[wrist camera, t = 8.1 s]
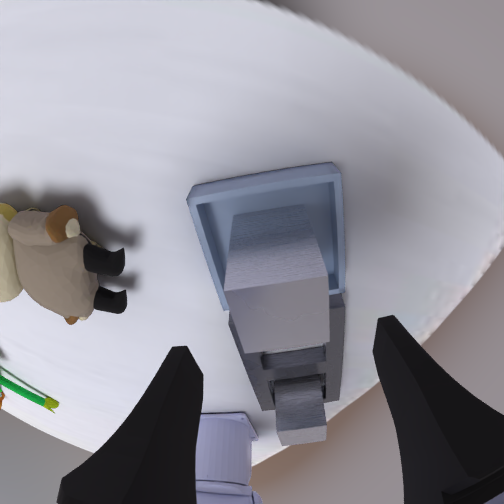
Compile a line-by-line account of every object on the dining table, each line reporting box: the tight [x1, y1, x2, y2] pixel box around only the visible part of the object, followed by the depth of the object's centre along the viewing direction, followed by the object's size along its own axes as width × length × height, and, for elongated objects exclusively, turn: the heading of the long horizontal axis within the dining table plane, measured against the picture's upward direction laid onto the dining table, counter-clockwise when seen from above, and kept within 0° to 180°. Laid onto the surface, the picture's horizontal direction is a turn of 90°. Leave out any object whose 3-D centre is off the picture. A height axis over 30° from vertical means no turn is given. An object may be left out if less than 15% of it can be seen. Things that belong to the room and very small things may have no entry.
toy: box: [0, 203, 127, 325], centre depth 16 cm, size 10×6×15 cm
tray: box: [186, 162, 345, 311], centre depth 17 cm, size 8×8×2 cm
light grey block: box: [224, 204, 330, 353], centre depth 15 cm, size 4×4×6 cm
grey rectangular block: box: [274, 374, 327, 446], centre depth 24 cm, size 4×4×6 cm
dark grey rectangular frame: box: [228, 293, 345, 411], centre depth 24 cm, size 14×8×2 cm, turn 11°
